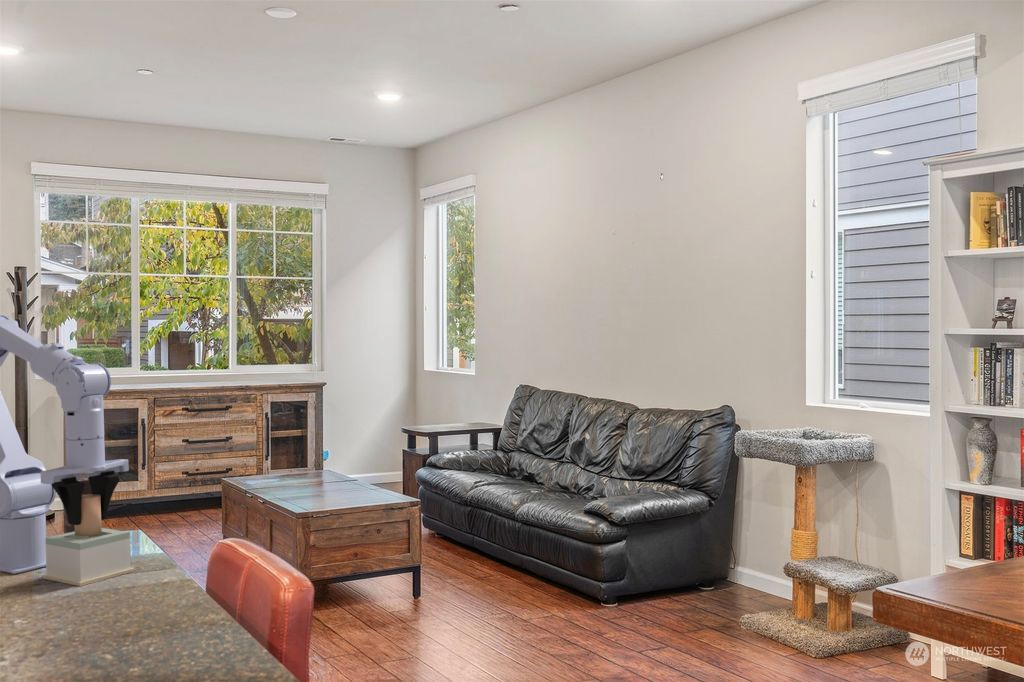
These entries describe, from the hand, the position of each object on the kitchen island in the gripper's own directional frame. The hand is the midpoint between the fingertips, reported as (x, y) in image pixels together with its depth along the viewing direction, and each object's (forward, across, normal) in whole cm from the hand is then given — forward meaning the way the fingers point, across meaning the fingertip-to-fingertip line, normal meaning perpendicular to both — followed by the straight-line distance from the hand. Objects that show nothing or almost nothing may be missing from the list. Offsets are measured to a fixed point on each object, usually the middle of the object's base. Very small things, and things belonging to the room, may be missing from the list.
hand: (87, 521), depth 153 cm
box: (+9, +14, +23) cm, 28 cm away
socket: (+9, 0, 0) cm, 9 cm away
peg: (+2, 0, 0) cm, 2 cm away
